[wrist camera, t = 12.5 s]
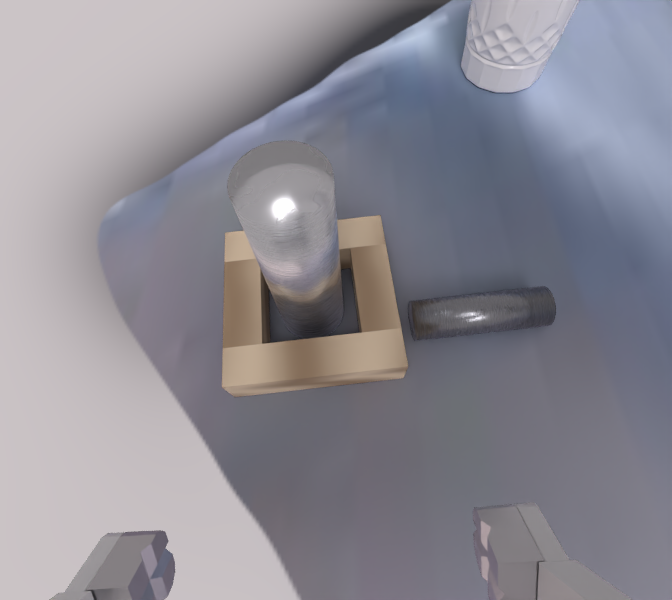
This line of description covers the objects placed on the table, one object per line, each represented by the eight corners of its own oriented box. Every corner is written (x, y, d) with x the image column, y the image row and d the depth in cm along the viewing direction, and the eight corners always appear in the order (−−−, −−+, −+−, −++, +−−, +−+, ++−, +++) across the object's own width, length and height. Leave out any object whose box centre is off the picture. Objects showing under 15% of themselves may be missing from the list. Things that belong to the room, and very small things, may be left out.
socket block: (378, 237, 28) (380, 215, 26) (403, 378, 24) (408, 366, 21) (235, 253, 28) (225, 232, 26) (234, 397, 24) (221, 387, 21)
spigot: (340, 279, 27) (328, 135, 16) (347, 335, 25) (339, 216, 14) (280, 286, 27) (228, 146, 16) (283, 342, 25) (226, 229, 14)
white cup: (443, 46, 36) (471, -100, 27) (528, 33, 37) (583, -116, 28) (469, 105, 33) (510, -39, 24) (562, 91, 33) (638, -58, 24)
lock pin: (536, 323, 25) (533, 285, 25) (557, 327, 23) (553, 286, 23) (410, 337, 25) (406, 300, 25) (418, 343, 23) (414, 302, 23)
